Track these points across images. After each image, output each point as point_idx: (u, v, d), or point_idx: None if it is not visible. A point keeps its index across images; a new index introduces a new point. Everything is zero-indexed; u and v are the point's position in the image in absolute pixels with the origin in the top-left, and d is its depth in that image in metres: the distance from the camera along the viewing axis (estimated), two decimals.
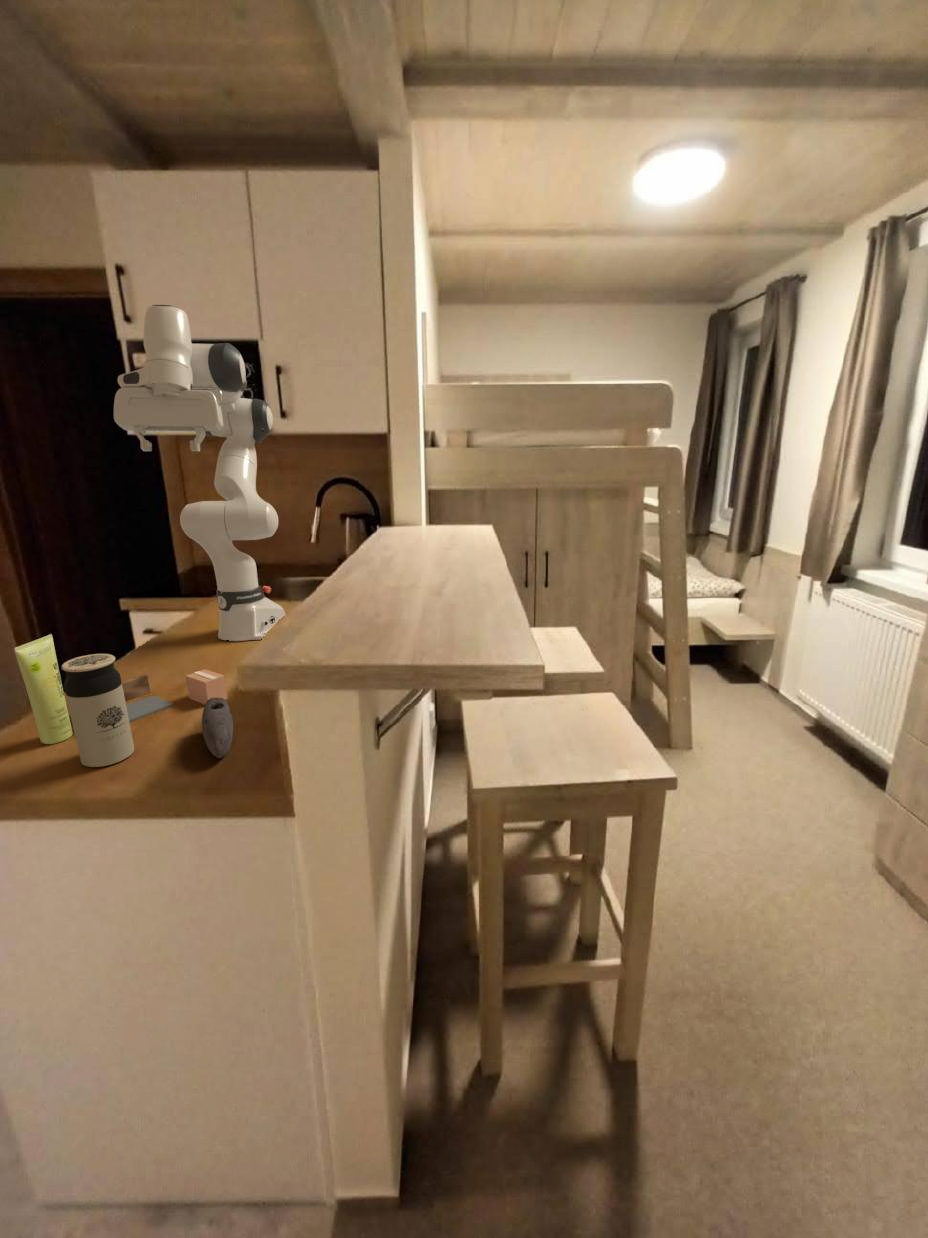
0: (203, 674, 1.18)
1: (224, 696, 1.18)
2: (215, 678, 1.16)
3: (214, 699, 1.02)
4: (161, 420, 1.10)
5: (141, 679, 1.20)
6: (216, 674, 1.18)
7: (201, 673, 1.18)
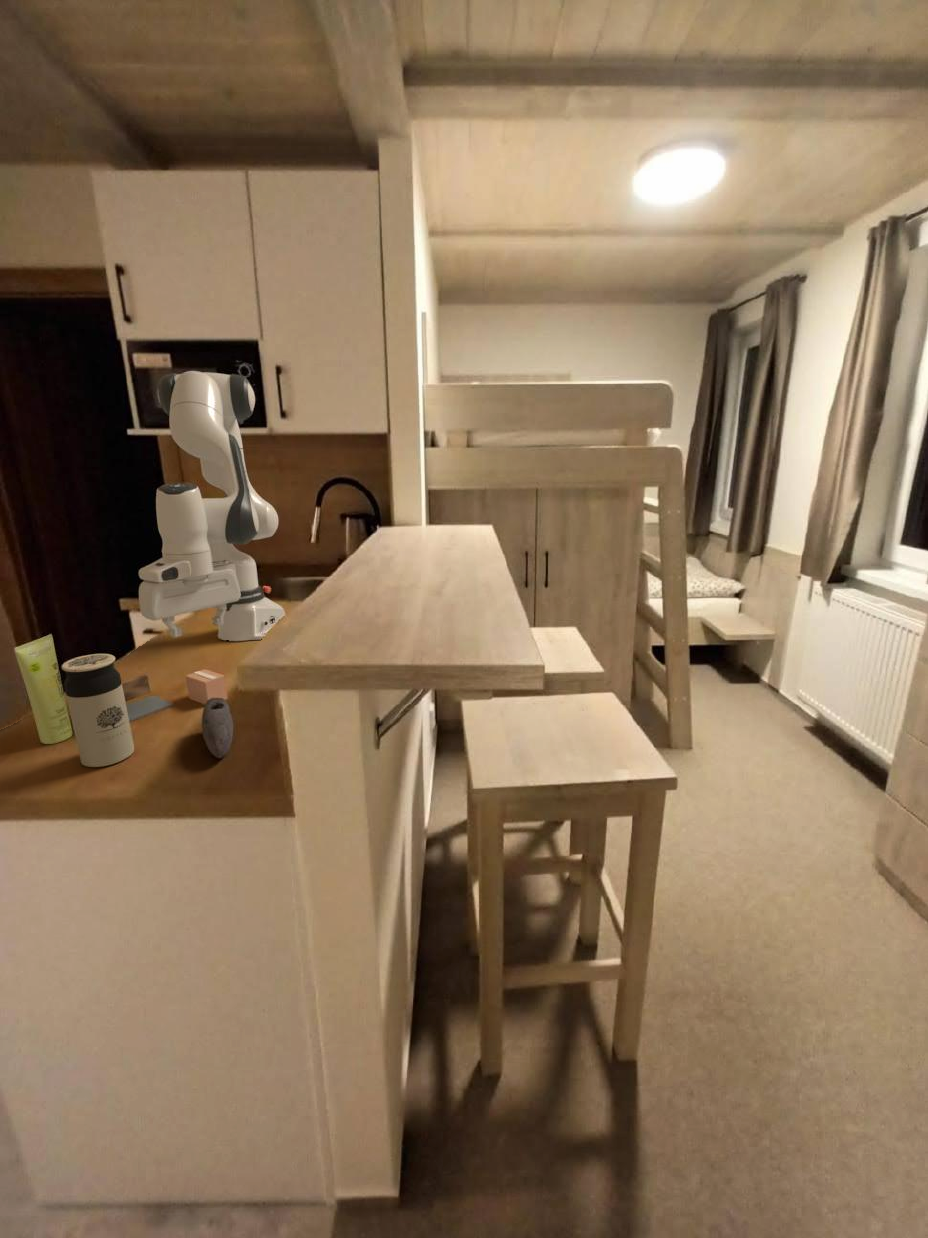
0: (203, 674, 1.18)
1: (224, 696, 1.18)
2: (215, 678, 1.16)
3: (214, 699, 1.02)
4: (195, 607, 1.11)
5: (141, 679, 1.20)
6: (216, 674, 1.18)
7: (201, 673, 1.18)
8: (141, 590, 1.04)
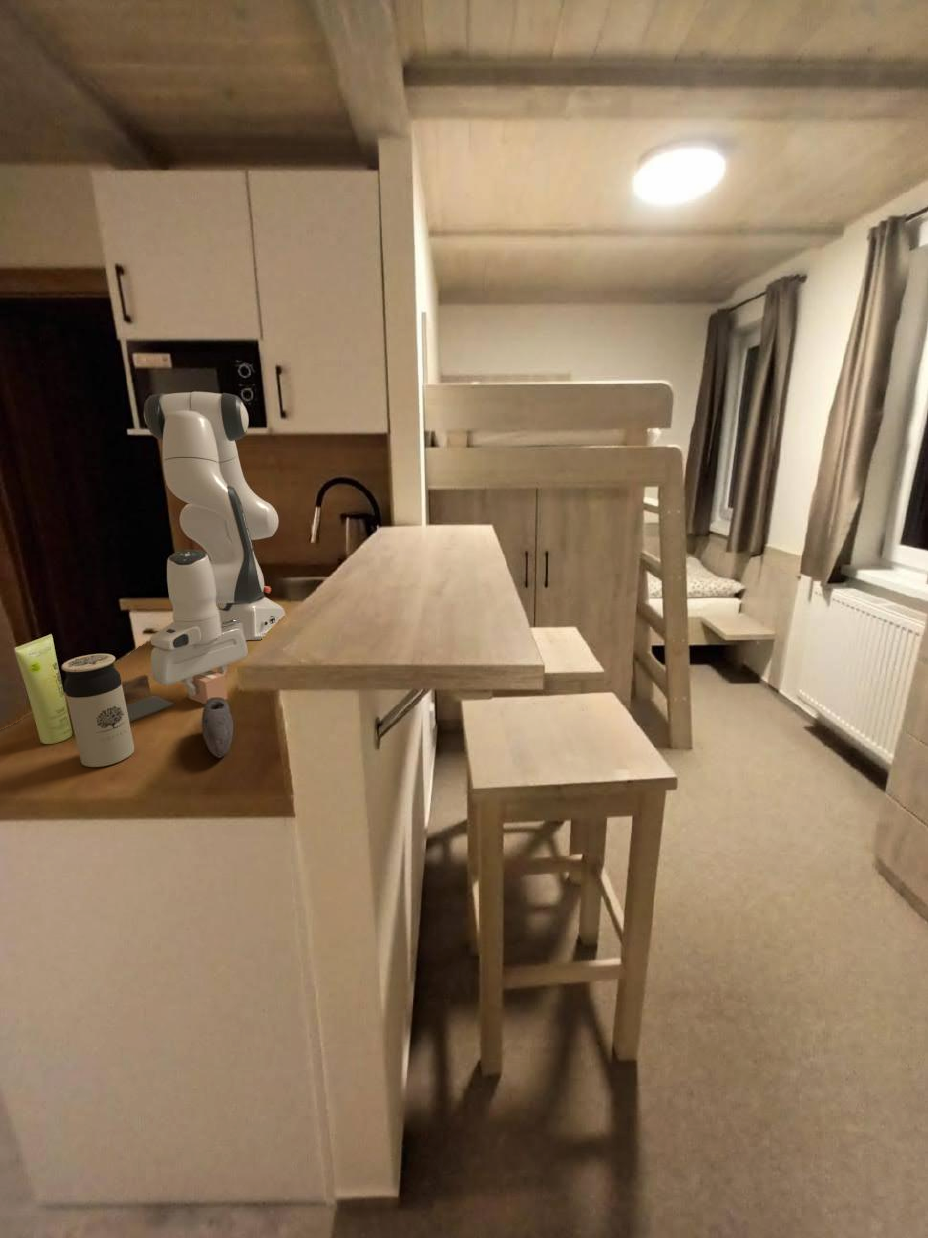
0: (203, 674, 1.18)
1: (224, 696, 1.18)
2: (215, 678, 1.16)
3: (214, 699, 1.02)
4: (204, 669, 1.15)
5: (141, 679, 1.20)
6: (216, 674, 1.18)
7: (201, 673, 1.18)
8: (153, 656, 1.08)
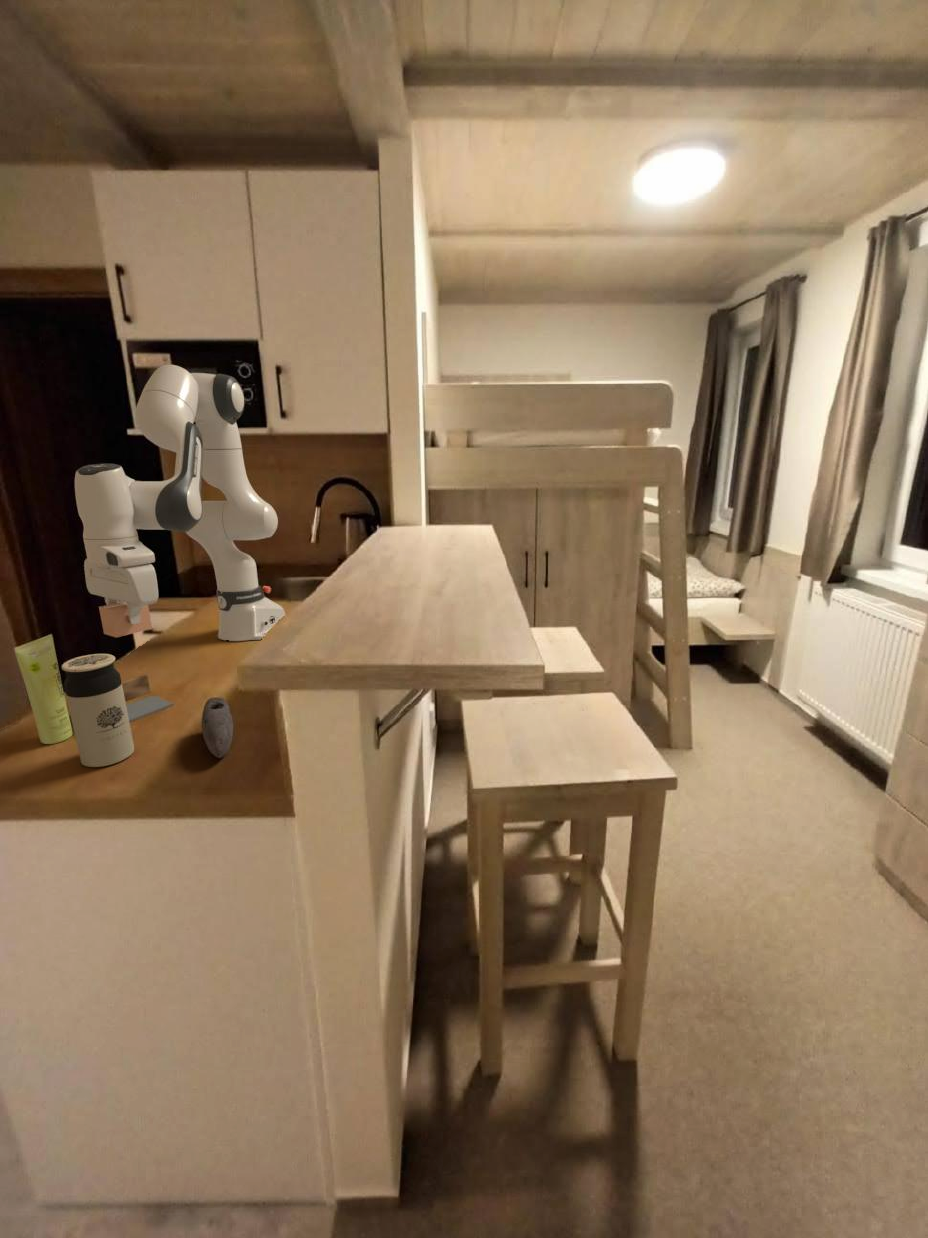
0: (120, 604, 1.07)
1: None
2: None
3: (214, 699, 1.02)
4: None
5: (141, 679, 1.20)
6: None
7: (115, 605, 1.06)
8: (137, 575, 0.99)
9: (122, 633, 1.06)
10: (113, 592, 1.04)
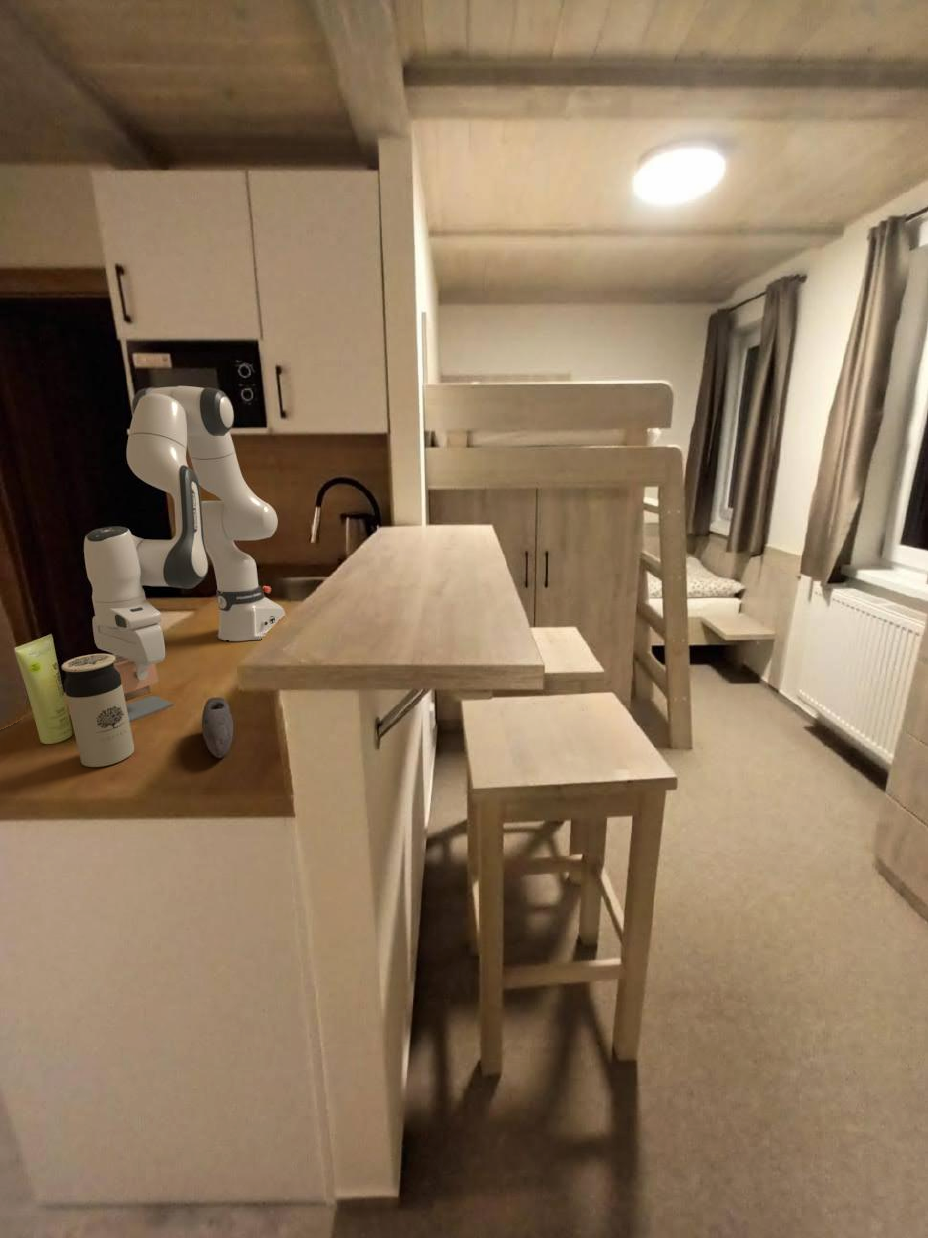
0: (128, 660, 1.10)
1: None
2: None
3: (214, 699, 1.02)
4: None
5: None
6: None
7: (123, 661, 1.09)
8: (145, 637, 1.03)
9: (130, 689, 1.09)
10: (120, 650, 1.08)
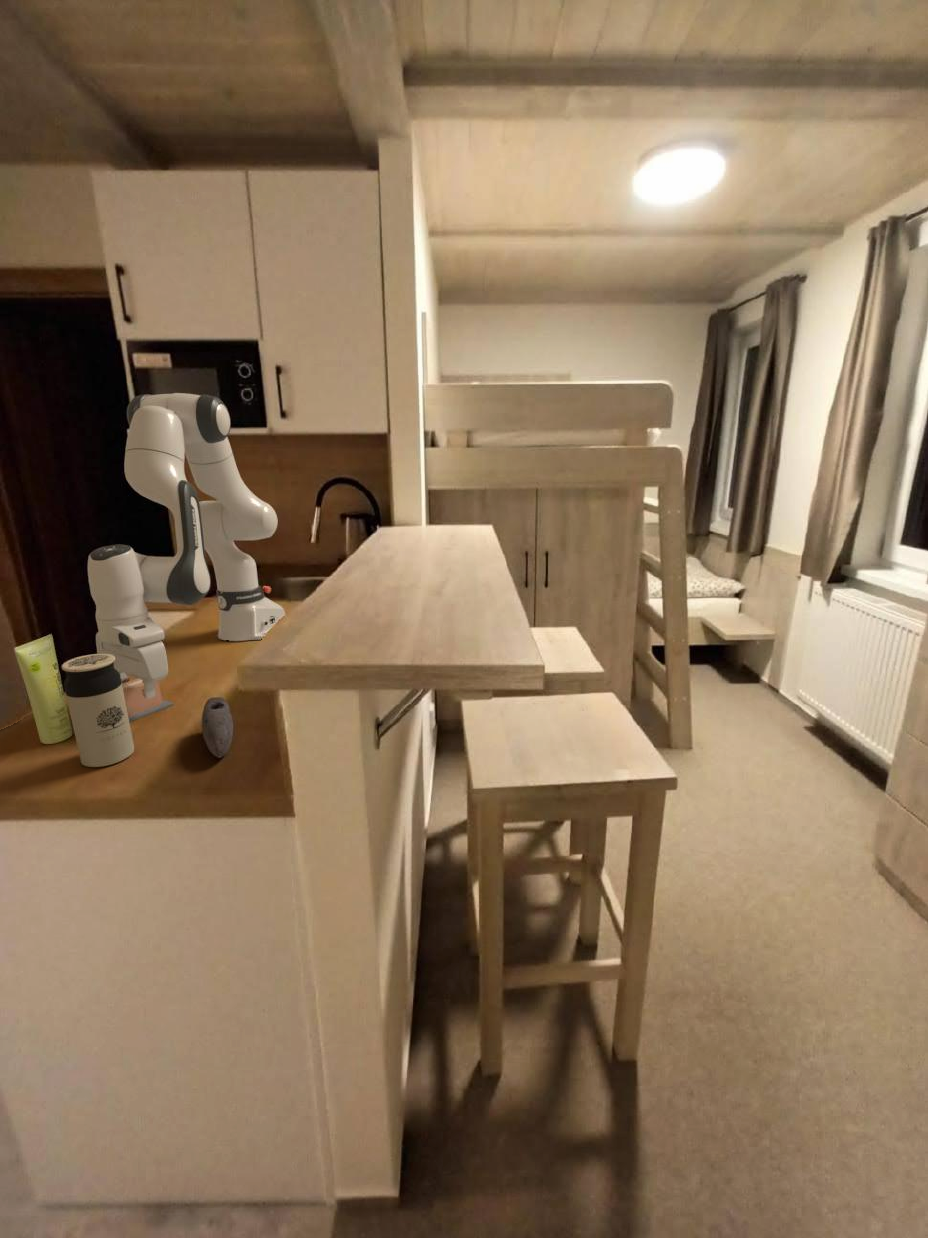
0: (132, 683, 1.11)
1: None
2: None
3: (214, 699, 1.02)
4: None
5: None
6: (138, 679, 1.14)
7: (127, 685, 1.11)
8: (148, 654, 1.04)
9: (134, 712, 1.10)
10: (124, 667, 1.09)
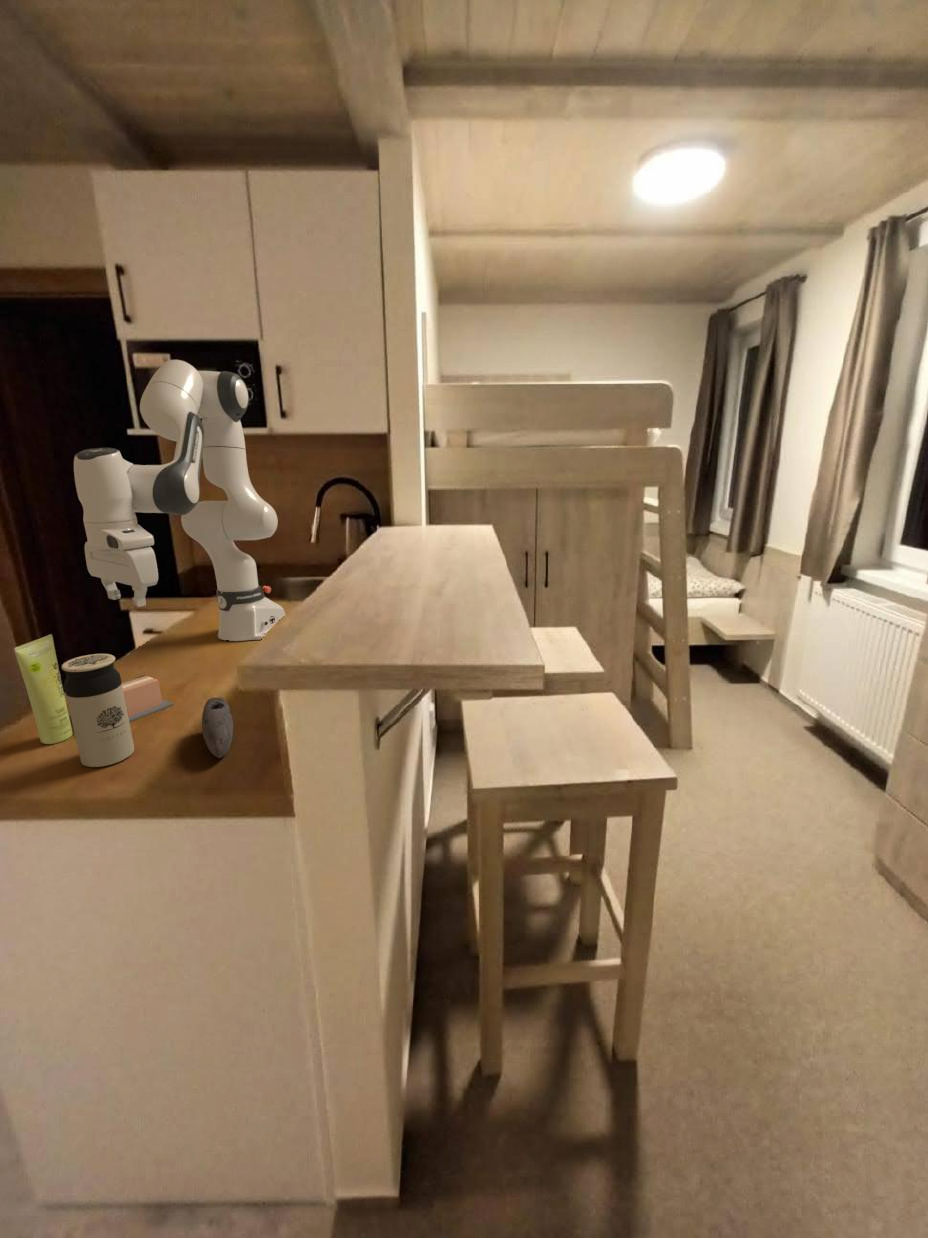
0: (132, 683, 1.11)
1: None
2: None
3: (214, 699, 1.02)
4: None
5: None
6: (138, 679, 1.14)
7: (127, 685, 1.11)
8: (137, 558, 1.02)
9: (134, 712, 1.10)
10: (113, 574, 1.07)
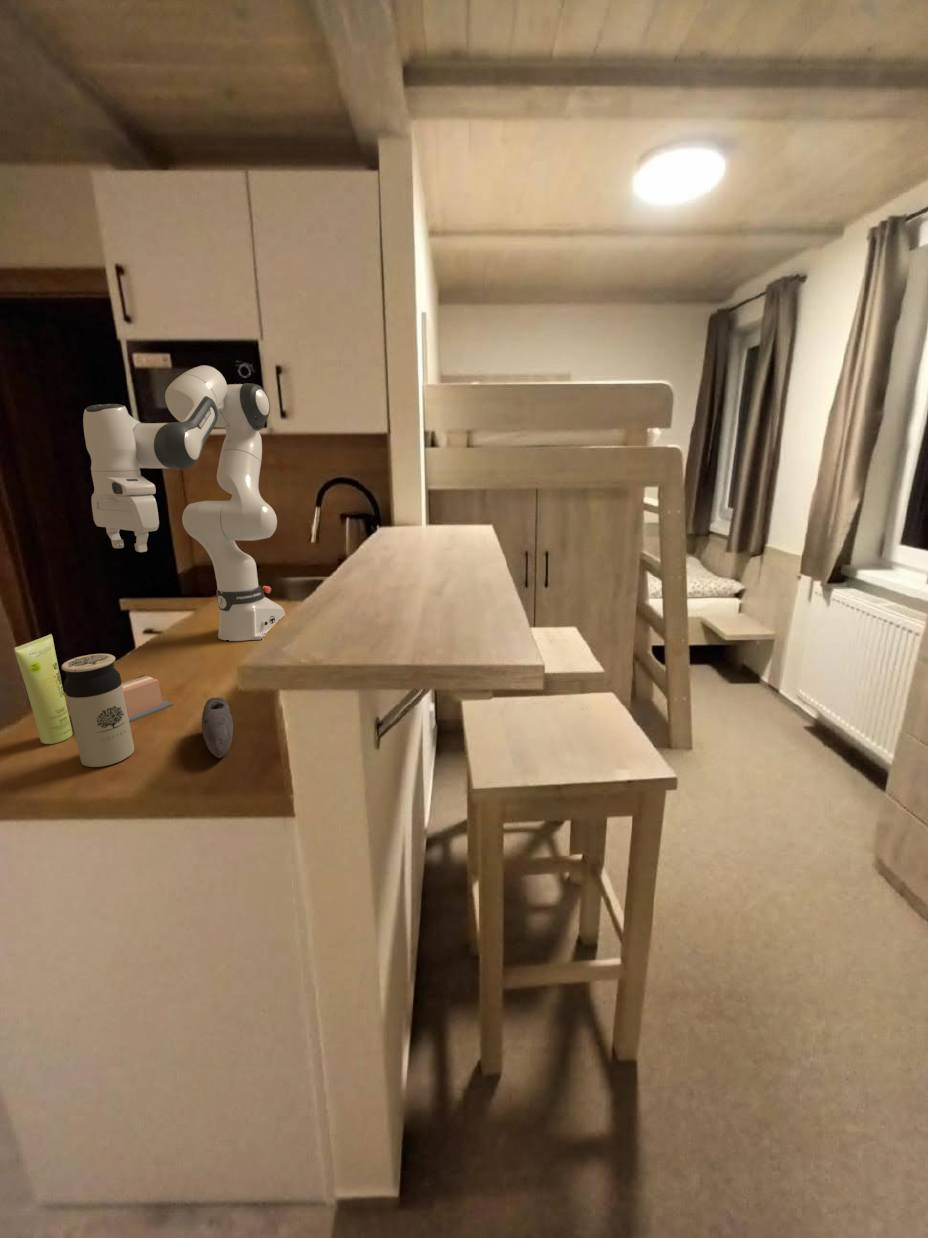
0: (132, 683, 1.11)
1: None
2: None
3: (214, 699, 1.02)
4: None
5: None
6: (138, 679, 1.14)
7: (127, 685, 1.11)
8: (140, 503, 1.11)
9: (134, 712, 1.10)
10: (117, 522, 1.16)
